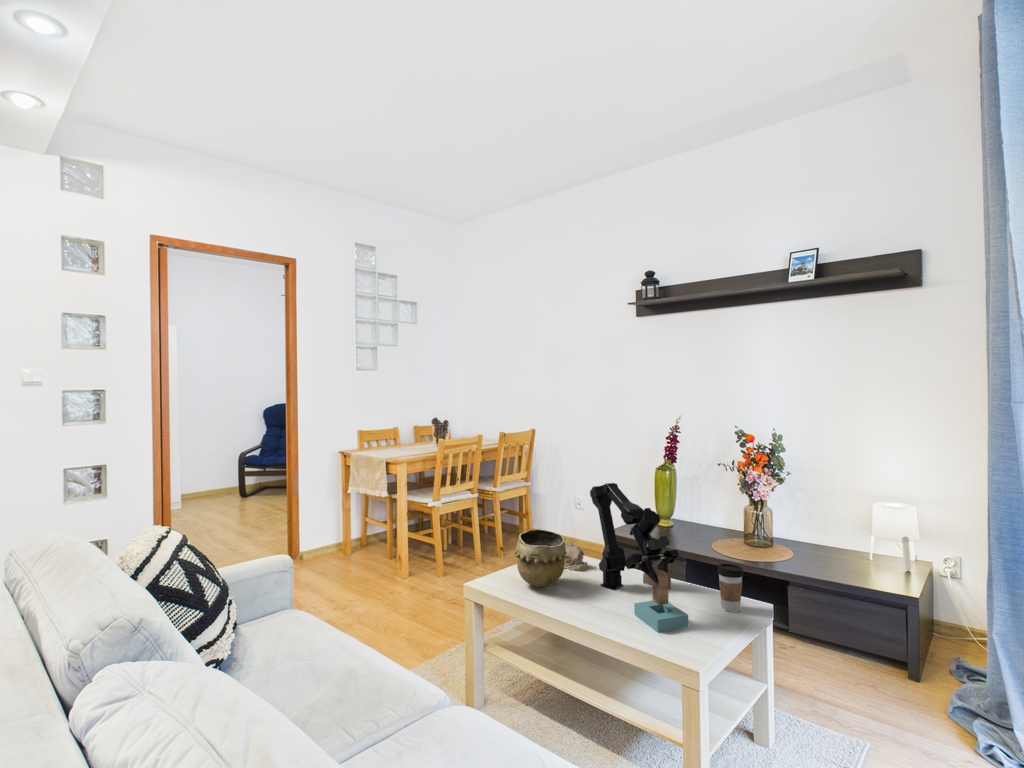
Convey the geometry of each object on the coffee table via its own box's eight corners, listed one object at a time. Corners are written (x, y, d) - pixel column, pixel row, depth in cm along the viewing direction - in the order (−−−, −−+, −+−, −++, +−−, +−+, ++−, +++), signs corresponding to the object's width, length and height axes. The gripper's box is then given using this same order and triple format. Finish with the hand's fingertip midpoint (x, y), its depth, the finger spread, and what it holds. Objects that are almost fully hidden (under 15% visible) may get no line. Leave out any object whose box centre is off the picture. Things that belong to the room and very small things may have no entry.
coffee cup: (714, 603, 197) (714, 562, 197) (738, 603, 197) (738, 562, 197) (722, 613, 188) (722, 570, 188) (747, 613, 188) (747, 570, 188)
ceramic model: (551, 567, 238) (551, 544, 238) (563, 560, 247) (563, 537, 247) (580, 573, 230) (580, 549, 230) (592, 565, 239) (591, 542, 239)
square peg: (652, 600, 185) (652, 570, 185) (661, 599, 186) (661, 569, 186) (659, 605, 181) (659, 574, 181) (668, 603, 182) (668, 573, 182)
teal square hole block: (634, 614, 188) (634, 603, 188) (663, 610, 192) (663, 598, 192) (657, 632, 175) (657, 619, 175) (688, 627, 178) (688, 614, 178)
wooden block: (665, 590, 210) (665, 543, 210) (642, 582, 218) (642, 537, 218) (671, 588, 212) (671, 541, 212) (648, 580, 220) (648, 535, 220)
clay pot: (579, 586, 215) (578, 535, 215) (539, 600, 201) (539, 546, 201) (542, 572, 231) (542, 524, 231) (503, 584, 217) (503, 534, 217)
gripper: (629, 530, 184) (647, 574, 173) (676, 525, 190) (697, 567, 179) (617, 547, 191) (634, 590, 181) (663, 541, 197) (682, 583, 187)
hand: (662, 582), depth 182 cm, fingers closed on square peg, 3 cm apart
